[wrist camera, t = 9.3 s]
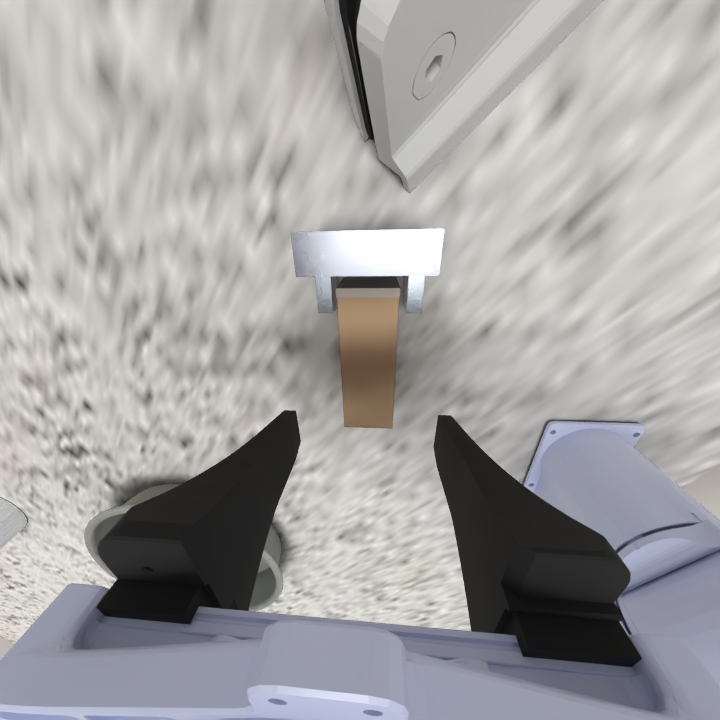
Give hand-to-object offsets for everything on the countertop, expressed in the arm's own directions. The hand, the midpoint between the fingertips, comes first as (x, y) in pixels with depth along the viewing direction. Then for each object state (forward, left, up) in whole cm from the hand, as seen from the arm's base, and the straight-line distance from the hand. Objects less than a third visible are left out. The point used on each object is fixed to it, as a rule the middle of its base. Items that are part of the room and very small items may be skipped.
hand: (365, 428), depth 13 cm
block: (+1, 0, -9) cm, 9 cm away
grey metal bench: (+7, 0, -9) cm, 11 cm away
